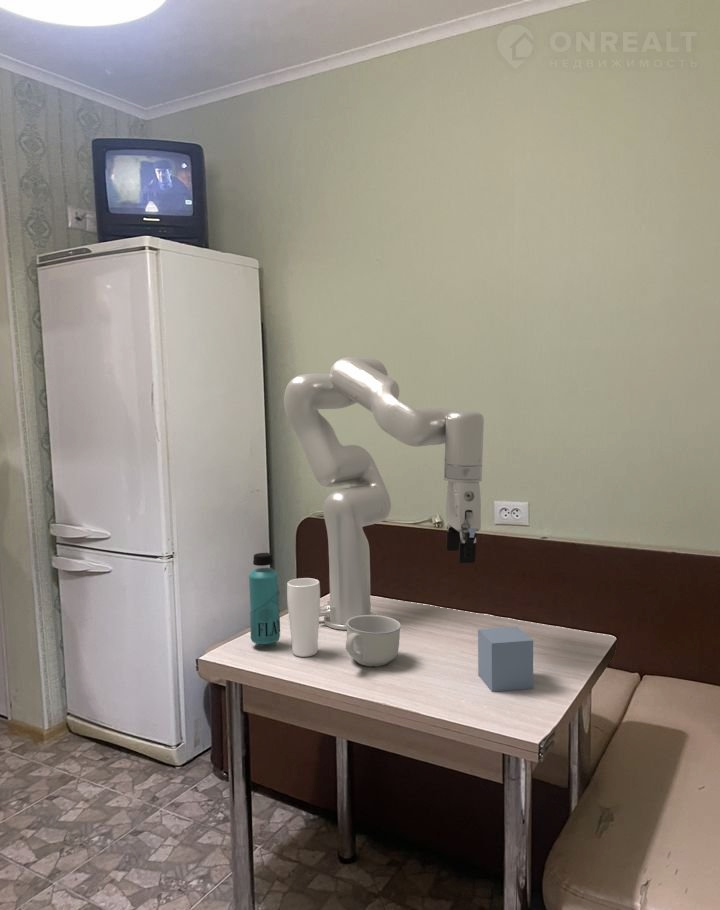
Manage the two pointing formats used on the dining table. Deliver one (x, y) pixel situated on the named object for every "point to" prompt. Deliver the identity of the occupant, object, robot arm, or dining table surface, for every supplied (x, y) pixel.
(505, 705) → the dining table surface
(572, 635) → the dining table surface
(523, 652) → the pale blue cube
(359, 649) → the teacup
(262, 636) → the beverage bottle
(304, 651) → the drinking glass
